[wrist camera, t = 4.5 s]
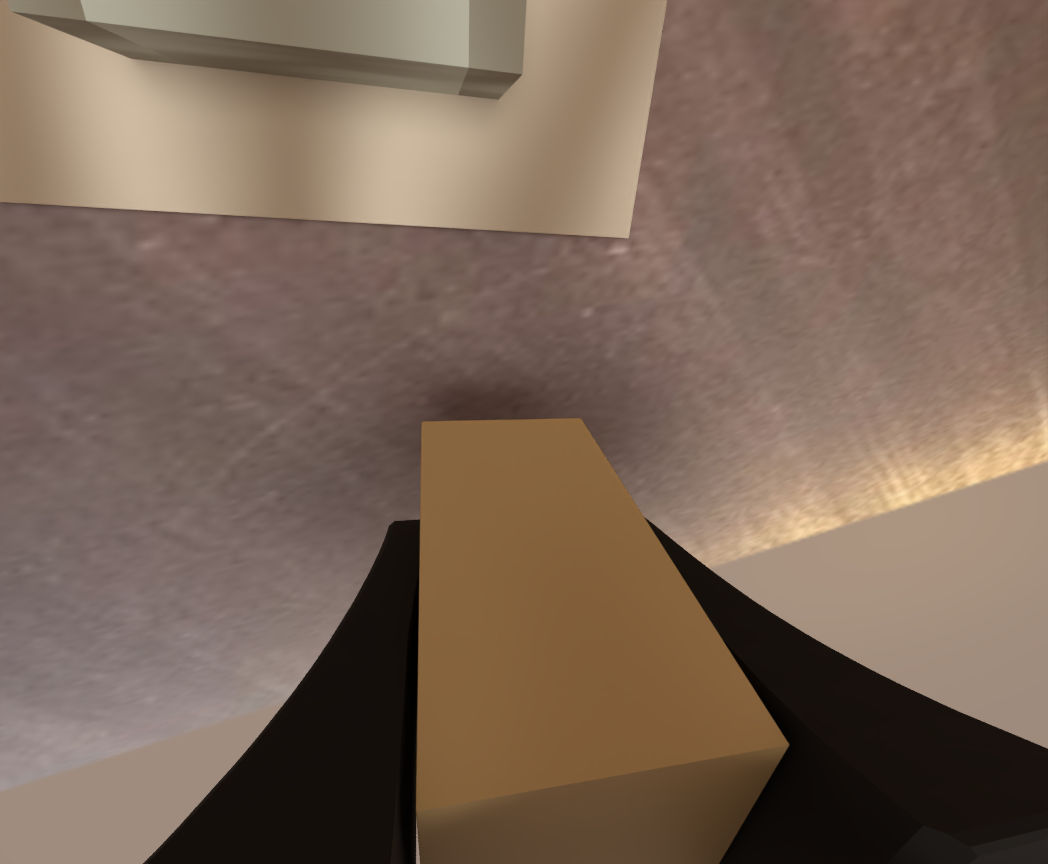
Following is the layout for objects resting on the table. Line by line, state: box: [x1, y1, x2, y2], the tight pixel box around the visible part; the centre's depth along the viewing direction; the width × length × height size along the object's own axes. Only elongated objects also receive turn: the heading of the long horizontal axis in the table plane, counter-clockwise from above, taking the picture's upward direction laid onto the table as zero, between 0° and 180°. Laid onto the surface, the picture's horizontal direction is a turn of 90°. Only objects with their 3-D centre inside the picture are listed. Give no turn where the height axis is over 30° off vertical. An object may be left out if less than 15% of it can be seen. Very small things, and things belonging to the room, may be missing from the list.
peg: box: [416, 418, 789, 864], centre depth 9 cm, size 4×4×8 cm
